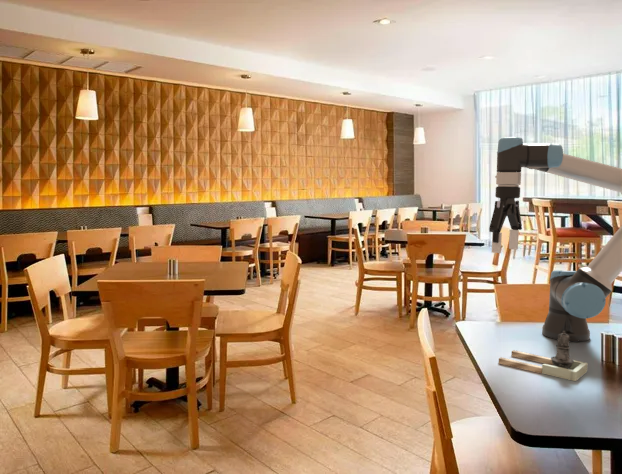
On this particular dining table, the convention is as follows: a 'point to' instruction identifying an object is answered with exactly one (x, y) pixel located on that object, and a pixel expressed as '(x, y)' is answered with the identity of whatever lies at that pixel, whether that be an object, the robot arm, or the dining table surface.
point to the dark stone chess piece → (562, 352)
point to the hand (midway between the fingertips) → (504, 251)
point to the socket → (566, 370)
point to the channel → (526, 365)
